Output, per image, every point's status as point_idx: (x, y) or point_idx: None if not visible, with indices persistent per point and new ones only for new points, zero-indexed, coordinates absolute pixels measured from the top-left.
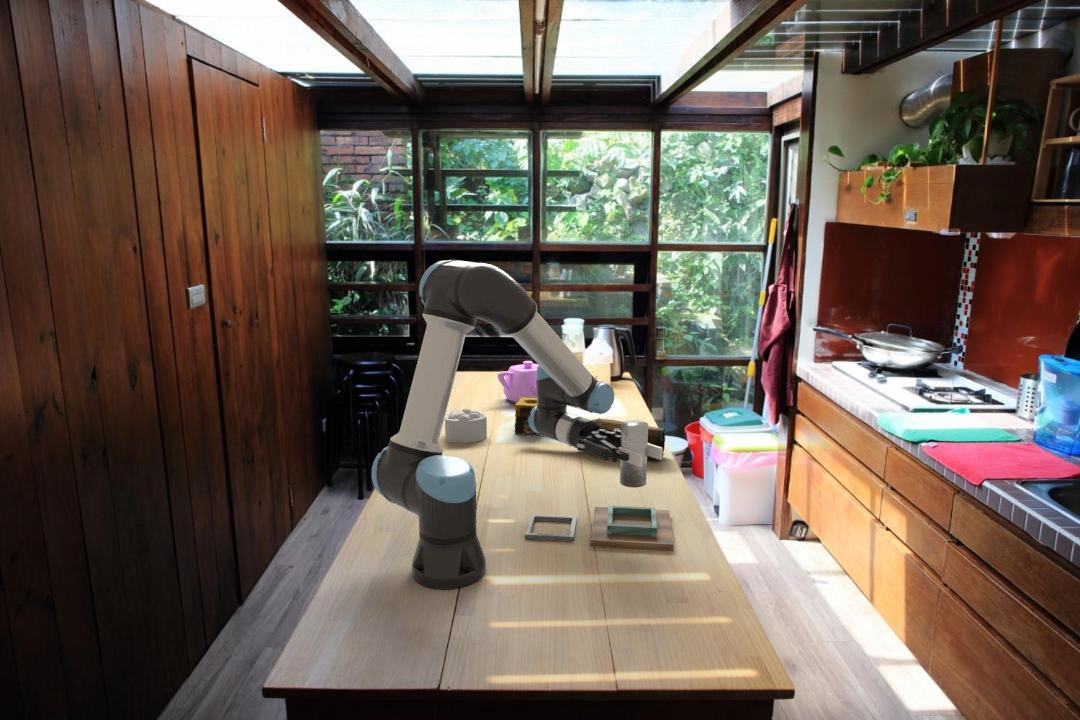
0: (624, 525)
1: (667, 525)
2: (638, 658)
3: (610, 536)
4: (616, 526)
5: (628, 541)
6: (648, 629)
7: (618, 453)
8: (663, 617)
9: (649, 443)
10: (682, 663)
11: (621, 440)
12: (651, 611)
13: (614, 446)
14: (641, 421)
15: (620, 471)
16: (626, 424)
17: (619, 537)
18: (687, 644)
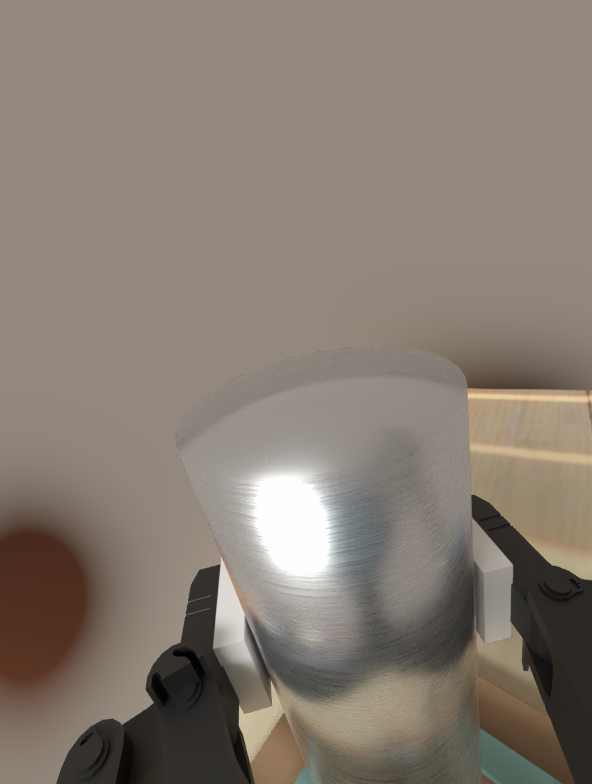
0: (483, 743)
1: (286, 731)
2: (550, 411)
3: (559, 772)
4: (526, 760)
5: (484, 684)
6: (521, 440)
7: (524, 543)
8: (488, 453)
9: (221, 557)
10: (494, 404)
11: (472, 535)
12: (504, 465)
13: (552, 631)
14: (201, 421)
15: (479, 732)
16: (405, 386)
17: (515, 737)
18: (475, 419)
